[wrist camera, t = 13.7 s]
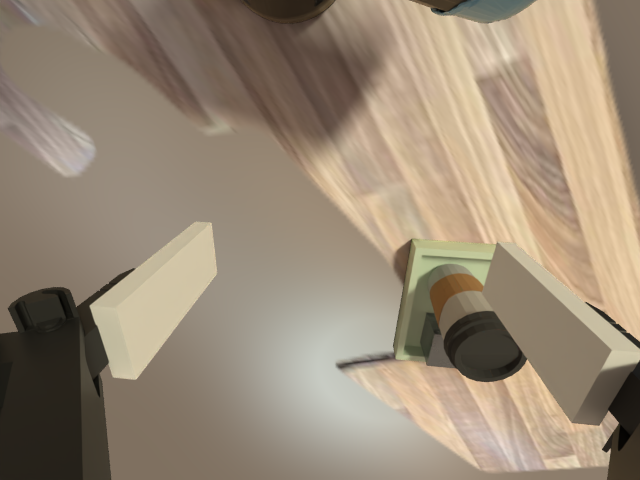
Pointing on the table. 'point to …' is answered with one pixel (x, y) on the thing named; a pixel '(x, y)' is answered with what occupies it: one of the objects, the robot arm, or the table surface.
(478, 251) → the green tray
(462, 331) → the coffee cup
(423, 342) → the cube
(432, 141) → the table surface
